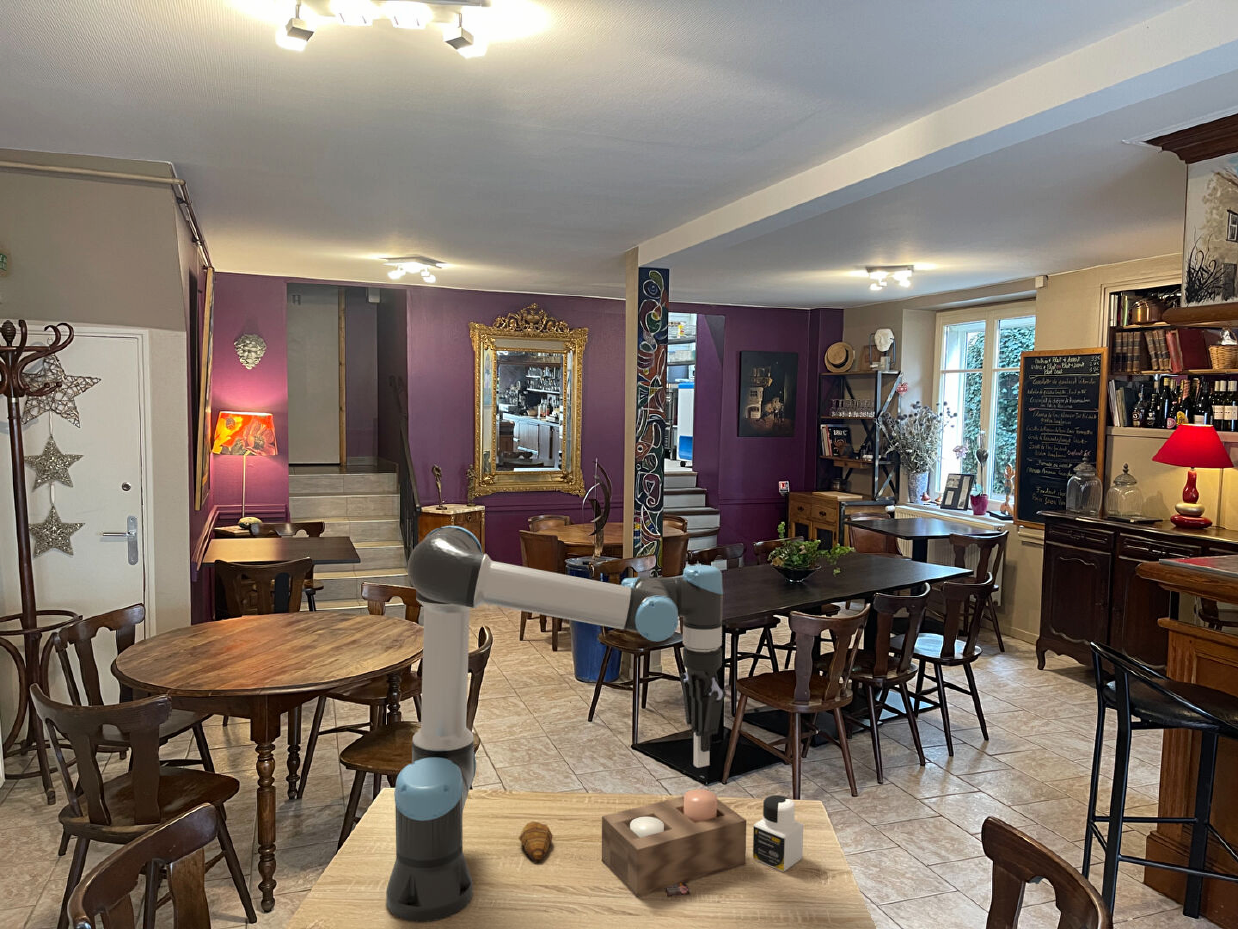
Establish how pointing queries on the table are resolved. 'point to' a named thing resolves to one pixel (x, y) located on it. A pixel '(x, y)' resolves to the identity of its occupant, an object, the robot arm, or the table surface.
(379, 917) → the table surface
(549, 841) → the croissant
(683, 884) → the chocolate bar
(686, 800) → the pink egg shaped ball
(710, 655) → the robot arm
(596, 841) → the table surface
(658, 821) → the white egg in box
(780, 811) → the medicine bottle
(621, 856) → the wooden egg holder
